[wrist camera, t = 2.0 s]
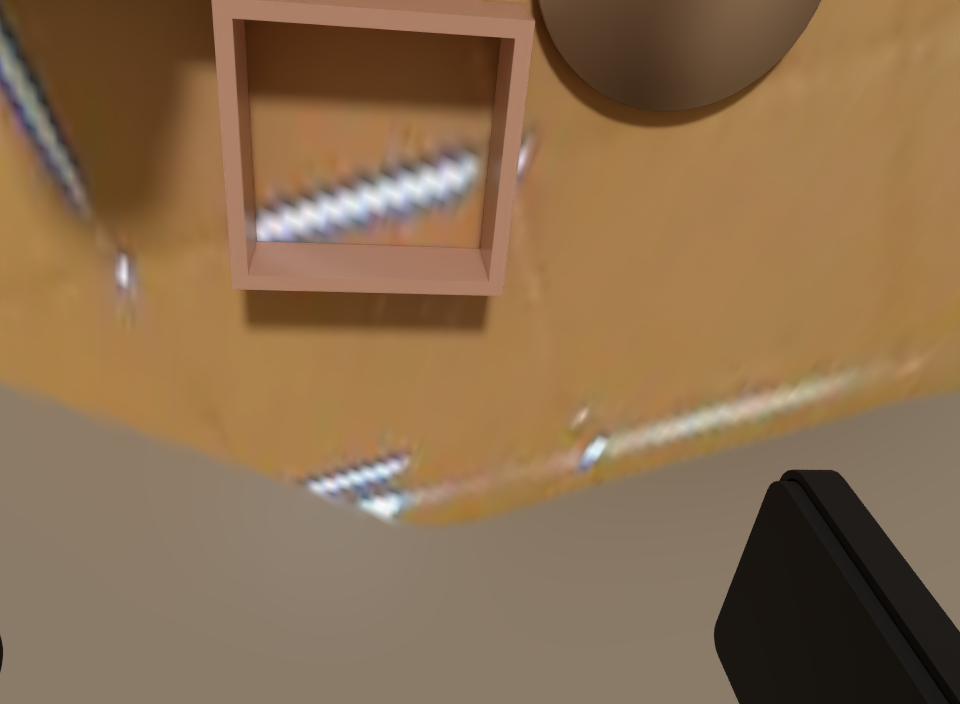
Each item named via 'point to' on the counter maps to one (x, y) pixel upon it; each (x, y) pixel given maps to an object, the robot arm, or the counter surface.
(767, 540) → the robot arm
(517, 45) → the bin terracotta
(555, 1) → the coaster
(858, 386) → the counter surface
